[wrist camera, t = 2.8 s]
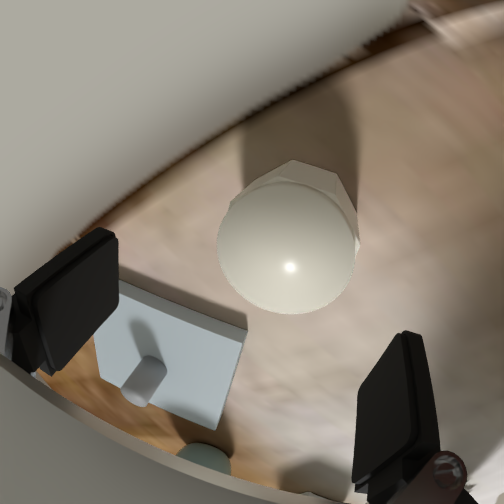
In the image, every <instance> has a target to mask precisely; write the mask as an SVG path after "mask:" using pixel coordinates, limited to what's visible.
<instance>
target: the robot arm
mask: <svg viewBox="0 0 504 504" xmlns="http://www.w3.org/2000/svg"><path fill="white" fill-rule="evenodd" d="M14 290H15V294H14V295H13V296H11V294H10V292H9V291H8V290H7V289H4V288H2V287H0V504H349V503H342V502H336V501H331V500H325V499H320V498H315V497H310V496H305V495H300V494H295V493H291V492H287V491H282V490H278V489H274V488H270V487H267V486H263V485H259V484H256V483H252V482H249V481H245V480H242V479H239V478H236V477H233V476H229V475H226V474H223V473H220V472H218V471H215V470H212V469H209V468H206V467H203V466H201V465H198V464H195V463H193V462H190V461H188V460H185V459H183V458H180V457H178V456H175V455H173V454H171V453H168V452H166V451H164V450H161V449H159V448H157V447H155V446H152V445H150V444H148V443H146V442H144V441H142V440H140V439H138V438H135V437H133V436H131V435H129V434H127V433H125V432H123V431H122V430H120V429H118V428H116V427H114V426H112V425H110V424H108V423H106V422H105V421H103V420H101V419H99V418H97V417H96V416H94V415H92V414H90V413H89V412H87V411H85V410H84V409H82V408H80V407H79V406H77V405H75V404H74V403H72V402H70V401H69V400H67V399H66V398H64V397H62V396H61V395H59V394H58V393H56V392H55V391H53V390H52V389H50V388H49V387H47V386H46V385H44V384H43V383H42V382H40V381H38V380H37V379H36V378H35V371H36V370H37V369H38V368H39V367H40V369H41V370H42V371H44V372H45V373H47V374H48V375H50V376H51V377H52V375H53V374H54V373H55V372H56V371H60V370H62V369H63V368H64V367H65V365H66V364H67V363H68V362H69V361H70V360H71V359H72V357H73V356H74V355H75V354H76V353H77V352H78V351H79V350H80V348H81V347H82V346H83V345H84V344H85V343H86V342H87V341H88V339H89V338H90V337H91V336H92V335H93V334H94V333H95V332H96V331H97V329H98V328H99V327H100V326H101V325H102V324H103V323H104V322H105V321H106V320H107V319H108V317H109V316H110V315H111V314H112V313H113V312H114V311H115V310H116V309H117V307H118V304H119V270H118V239H117V238H116V237H115V233H114V232H112V231H109V230H107V229H104V228H101V227H98V228H96V229H94V230H93V231H91V232H90V233H88V234H87V235H85V236H84V237H82V238H81V239H79V240H78V241H77V242H75V243H74V244H72V245H71V246H69V247H68V248H66V249H65V250H64V251H62V252H61V253H59V254H58V255H57V256H55V257H54V258H53V259H51V260H50V261H48V262H47V263H46V264H44V265H43V266H42V267H40V268H39V269H38V270H36V271H35V272H34V273H32V274H31V275H30V276H28V277H27V278H26V279H24V280H23V281H22V282H21V283H19V284H18V285H17V286H15V287H14ZM466 481H467V471H466V467H465V465H464V462H463V461H462V460H461V458H460V457H459V456H457V455H456V454H455V453H453V452H450V451H441V450H440V439H439V430H438V422H437V415H436V408H435V401H434V395H433V389H432V383H431V378H430V372H429V367H428V362H427V357H426V352H425V348H424V343H423V339H422V336H421V335H420V334H416V333H413V332H410V331H406V330H405V331H403V332H402V333H401V334H400V333H397V334H396V335H395V337H394V338H393V340H392V341H391V343H390V344H389V346H388V347H387V349H386V350H385V352H384V353H383V355H382V356H381V358H380V359H379V361H378V362H377V364H376V365H375V366H374V368H373V369H372V371H371V372H370V373H369V375H368V376H367V378H366V379H365V380H364V382H363V383H362V384H361V386H360V388H359V391H358V396H357V417H356V433H355V446H354V458H353V469H352V483H355V491H354V492H357V493H365V494H367V501H368V502H367V503H366V504H478V503H477V502H476V501H475V500H474V498H473V497H472V496H471V495H470V494H469V493H468V492H467V491H466V490H465V489H464V486H465V484H466Z"/></svg>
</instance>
